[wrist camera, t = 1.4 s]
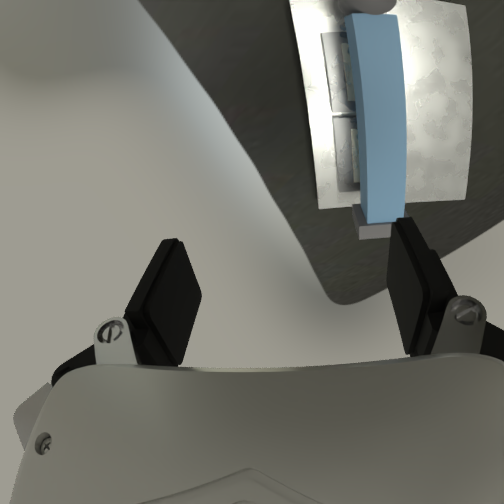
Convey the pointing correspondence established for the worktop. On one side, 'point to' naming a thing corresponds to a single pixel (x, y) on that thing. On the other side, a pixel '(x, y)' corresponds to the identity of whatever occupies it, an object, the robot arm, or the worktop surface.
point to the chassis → (416, 93)
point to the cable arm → (378, 114)
